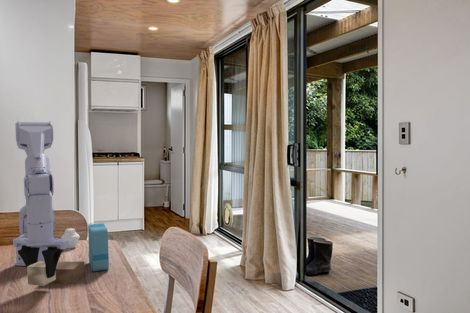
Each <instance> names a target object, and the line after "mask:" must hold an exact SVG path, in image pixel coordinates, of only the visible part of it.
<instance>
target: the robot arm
mask: <svg viewBox="0 0 470 313" xmlns="http://www.w3.org/2000/svg"><path fill="white" fill-rule="evenodd" d="M15 142H16V146H17V148H18V149H19V150H23V151H24V152H25V154H26V156H27V157H25V160H24V168H25V169H24V170H25V176H24V177H23V192H24V193H23V194H24V198H25V205H24V206H22V207H21V208H20V209H19V213H18V215H19V216H18V222H19V223H18V228H19V234H20V235H19V236H18V237H17V238H14V239H12V243H13V244H12V246H13V248H15V260H16V261H15V263H13V264H14V266H21V267H23V266H24V267H25V268H26V269H27V266H29V265H32V264H34V263H37V262H39V261H45V266H46V276H47V278H51V277H53V276H54V275H55V270H56V266H57V263H58V262H59V260H60V258H61V255H62V254H63V252H64V250H65V249H70V248H69V240H64V239H61V238H57V237H54V232H55V229H56V219H55V210H54V208H53V196H54V190H55V189H54V188H55V186H54V185H55V184H54V176H53V173H52V171H51V169H50V167H51V166H50V159H49V157H48V156H47V155H45V150H47V149H50V148H52V146H53V142H54V125H53V123H52V121H16V122H15Z"/></svg>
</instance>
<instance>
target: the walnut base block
mask: <svg viewBox="0 0 470 313" xmlns="http://www.w3.org/2000/svg"><path fill="white" fill-rule="evenodd" d="M85 263H86V262H85V261H58V263H57V266H56V280H54V281H52V282H50V283H49V284H75V283H76V282H77V281H79V280H80V279H82V278H83V277H85V275H86V269H85V266H86V264H85Z"/></svg>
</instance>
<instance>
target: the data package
mask: <svg viewBox="0 0 470 313" xmlns="http://www.w3.org/2000/svg"><path fill="white" fill-rule="evenodd" d="M87 227H88V228H87V233H88V236H87V237H88V239H87V240H88V261H89V265H90V269H91V272H100V271H107V270H109V268H110V264H109V262H110V261H109V260H110V258H109V256H110V255H109V232H108V228H107V227H106V225H105V224H104V223H103V222H101V223H92V224H88V226H87Z"/></svg>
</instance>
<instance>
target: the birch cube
mask: <svg viewBox="0 0 470 313" xmlns="http://www.w3.org/2000/svg"><path fill="white" fill-rule="evenodd" d="M26 271H27V273H26V274H27V285H31V286H32V285H33V286H46V285H49V284H51V283H50V282H52V281H54V280H56V270H55V275H54V276H53V277H51V278H47V276H46V266H45V261H39V262H37V263H34V264H32V265H29V266H27V268H26Z"/></svg>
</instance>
